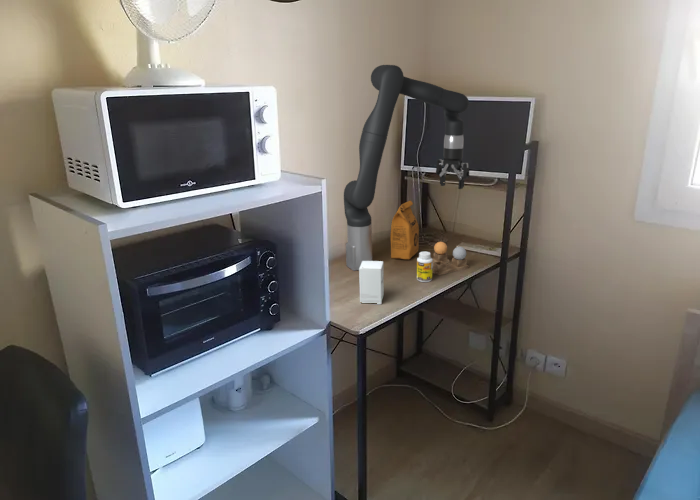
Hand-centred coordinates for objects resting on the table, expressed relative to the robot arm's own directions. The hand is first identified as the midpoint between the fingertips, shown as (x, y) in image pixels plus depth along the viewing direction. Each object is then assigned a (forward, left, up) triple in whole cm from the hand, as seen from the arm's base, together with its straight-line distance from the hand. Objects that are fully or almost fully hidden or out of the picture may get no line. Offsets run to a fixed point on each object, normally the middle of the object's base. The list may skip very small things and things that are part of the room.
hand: (451, 187), depth 217 cm
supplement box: (-52, -27, -26) cm, 65 cm away
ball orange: (-12, -10, -21) cm, 26 cm away
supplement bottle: (-28, -22, -26) cm, 44 cm away
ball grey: (-10, -19, -21) cm, 29 cm away
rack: (-14, -19, -26) cm, 35 cm away
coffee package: (-20, +3, -26) cm, 33 cm away
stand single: (-12, -10, -26) cm, 31 cm away
